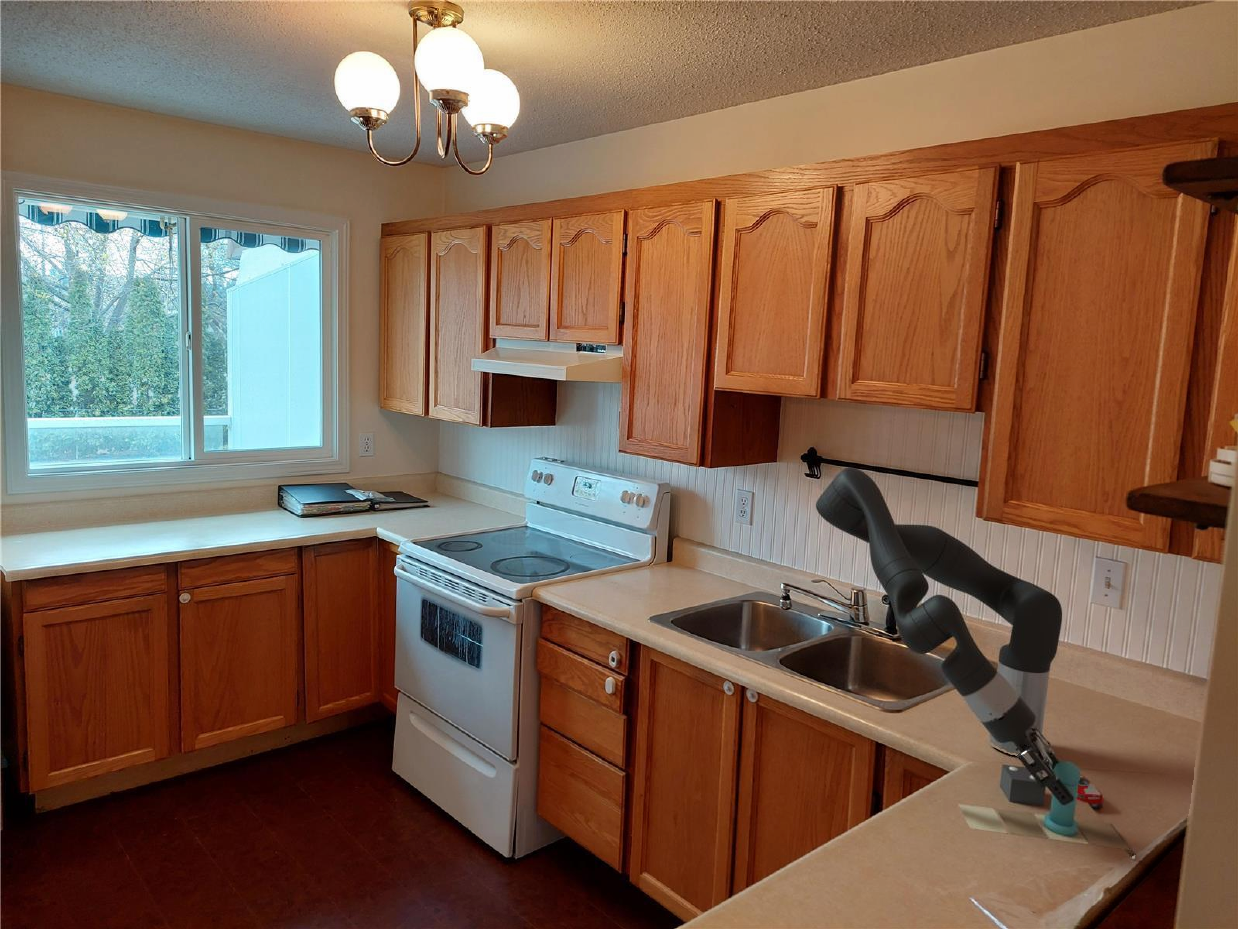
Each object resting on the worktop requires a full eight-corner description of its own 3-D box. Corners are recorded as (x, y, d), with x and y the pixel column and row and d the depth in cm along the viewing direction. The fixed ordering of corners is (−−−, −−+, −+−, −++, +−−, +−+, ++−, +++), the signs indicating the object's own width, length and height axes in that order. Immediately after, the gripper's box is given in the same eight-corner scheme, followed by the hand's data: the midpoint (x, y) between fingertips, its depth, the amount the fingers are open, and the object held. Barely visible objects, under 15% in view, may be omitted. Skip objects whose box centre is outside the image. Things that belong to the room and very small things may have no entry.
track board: (952, 810, 143) (953, 801, 143) (1110, 830, 140) (1111, 822, 139) (965, 838, 134) (966, 829, 134) (1135, 861, 131) (1136, 852, 131)
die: (998, 794, 150) (1002, 763, 149) (1031, 798, 149) (1035, 767, 148) (1008, 809, 144) (1011, 778, 144) (1042, 814, 144) (1046, 782, 143)
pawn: (1039, 818, 139) (1047, 754, 138) (1070, 822, 138) (1078, 757, 137) (1049, 834, 134) (1058, 767, 133) (1082, 838, 134) (1090, 771, 132)
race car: (1031, 776, 158) (1033, 755, 158) (1058, 776, 159) (1060, 755, 159) (1078, 812, 145) (1080, 790, 145) (1106, 812, 146) (1109, 790, 146)
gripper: (978, 702, 147) (1043, 781, 144) (977, 734, 134) (1049, 822, 131) (1016, 679, 144) (1082, 759, 141) (1019, 710, 131) (1092, 799, 128)
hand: (1066, 789), depth 136 cm, fingers open, 8 cm apart
